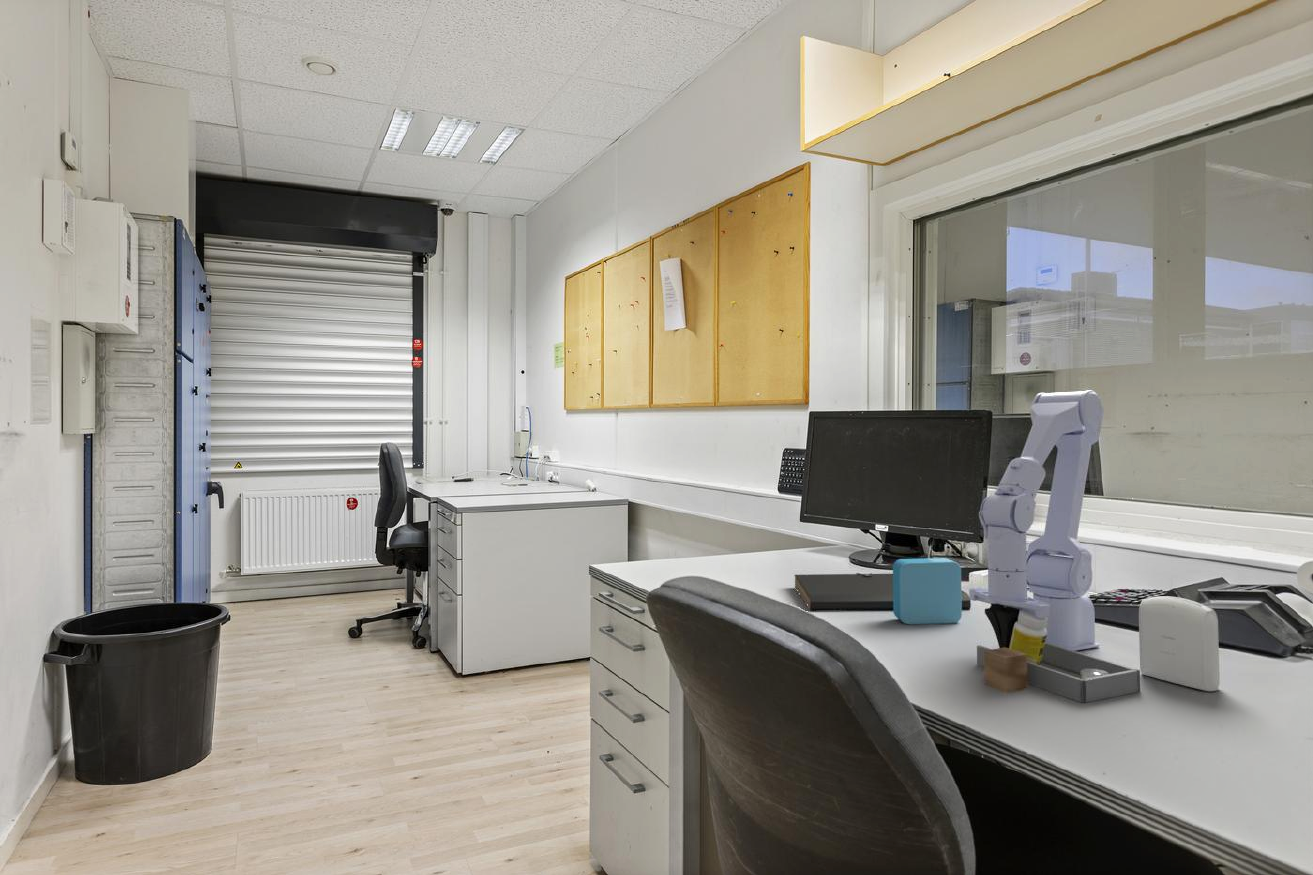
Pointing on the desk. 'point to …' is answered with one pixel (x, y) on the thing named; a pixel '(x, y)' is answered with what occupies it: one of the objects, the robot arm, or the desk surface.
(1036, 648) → the supplement bottle
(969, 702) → the desk surface
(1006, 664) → the walnut block
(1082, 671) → the metal cylinder
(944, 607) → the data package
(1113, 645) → the desk surface
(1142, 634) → the photo printer
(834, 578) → the file folder
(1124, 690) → the bay
